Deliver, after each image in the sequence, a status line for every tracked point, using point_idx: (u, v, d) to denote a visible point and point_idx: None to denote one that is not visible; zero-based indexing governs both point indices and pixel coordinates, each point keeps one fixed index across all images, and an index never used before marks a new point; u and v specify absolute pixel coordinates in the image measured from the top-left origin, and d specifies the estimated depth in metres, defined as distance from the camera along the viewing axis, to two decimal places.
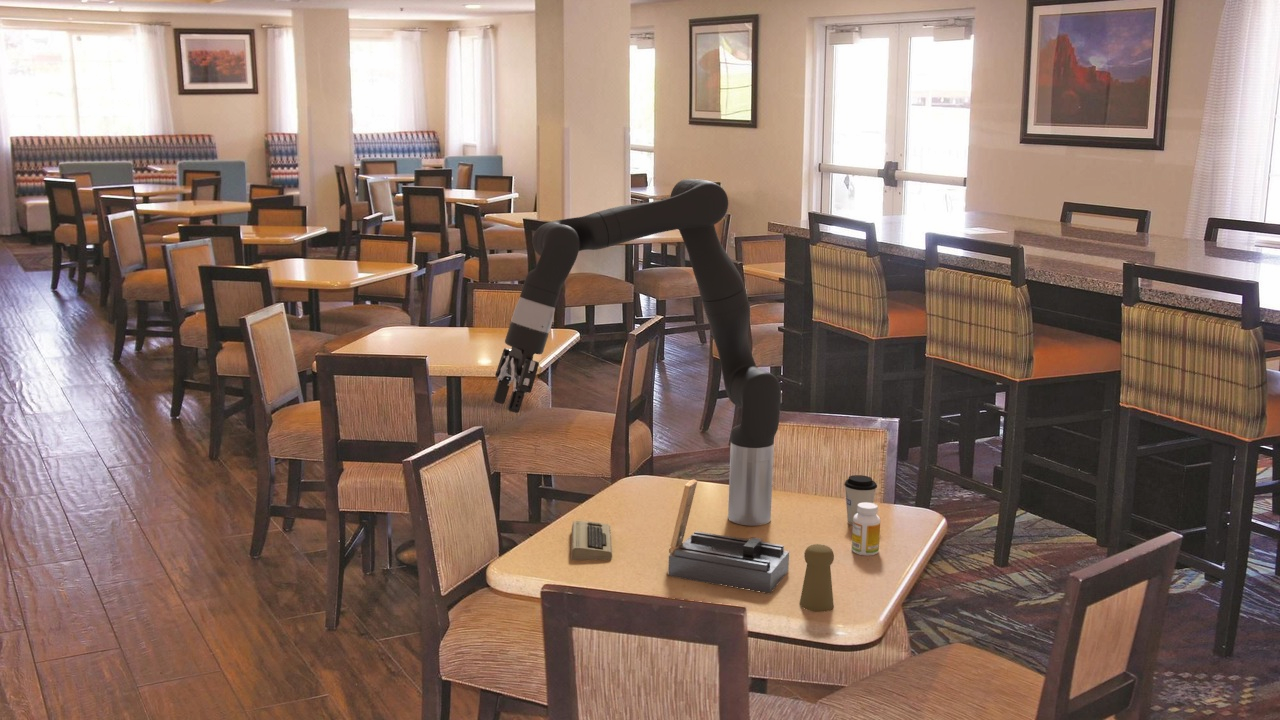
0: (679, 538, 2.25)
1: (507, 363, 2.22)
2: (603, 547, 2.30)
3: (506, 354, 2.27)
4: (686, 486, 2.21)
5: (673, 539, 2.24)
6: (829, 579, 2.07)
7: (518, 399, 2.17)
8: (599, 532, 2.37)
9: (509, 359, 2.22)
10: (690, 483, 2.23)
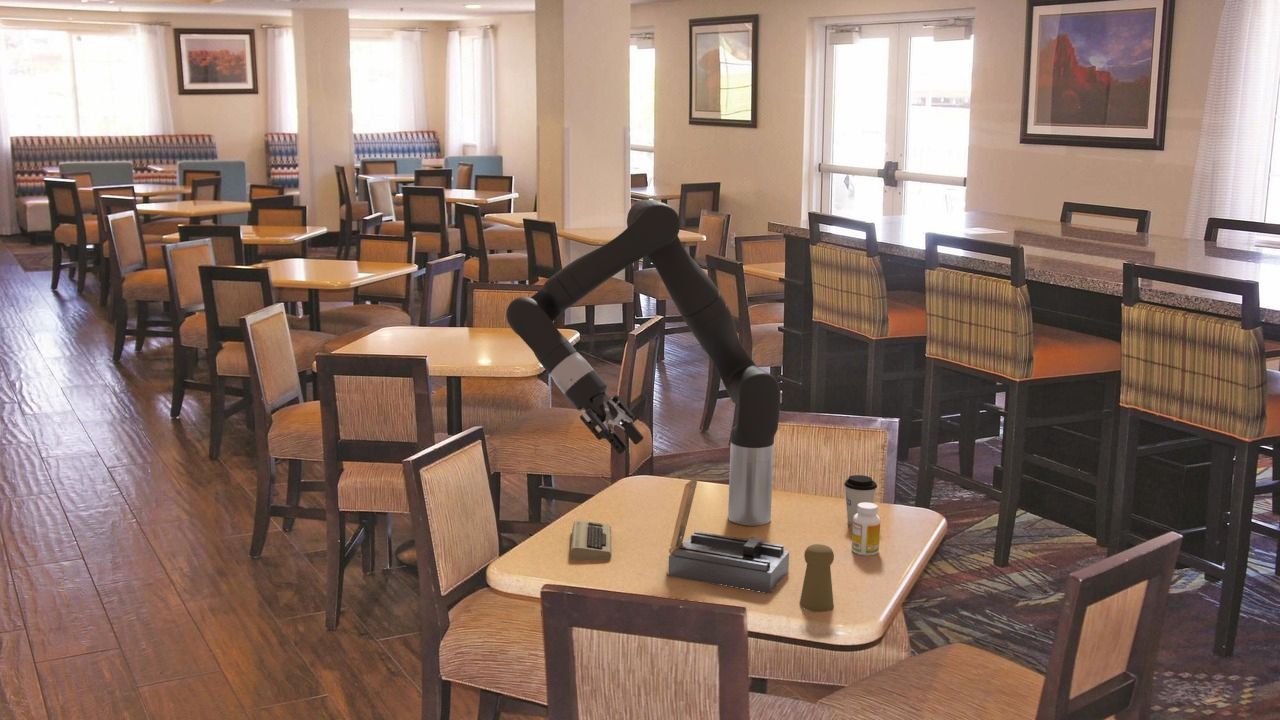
0: (679, 538, 2.25)
1: None
2: (602, 547, 2.30)
3: None
4: (686, 486, 2.21)
5: (673, 539, 2.24)
6: (829, 579, 2.07)
7: (613, 442, 2.22)
8: (599, 532, 2.37)
9: None
10: (690, 483, 2.23)
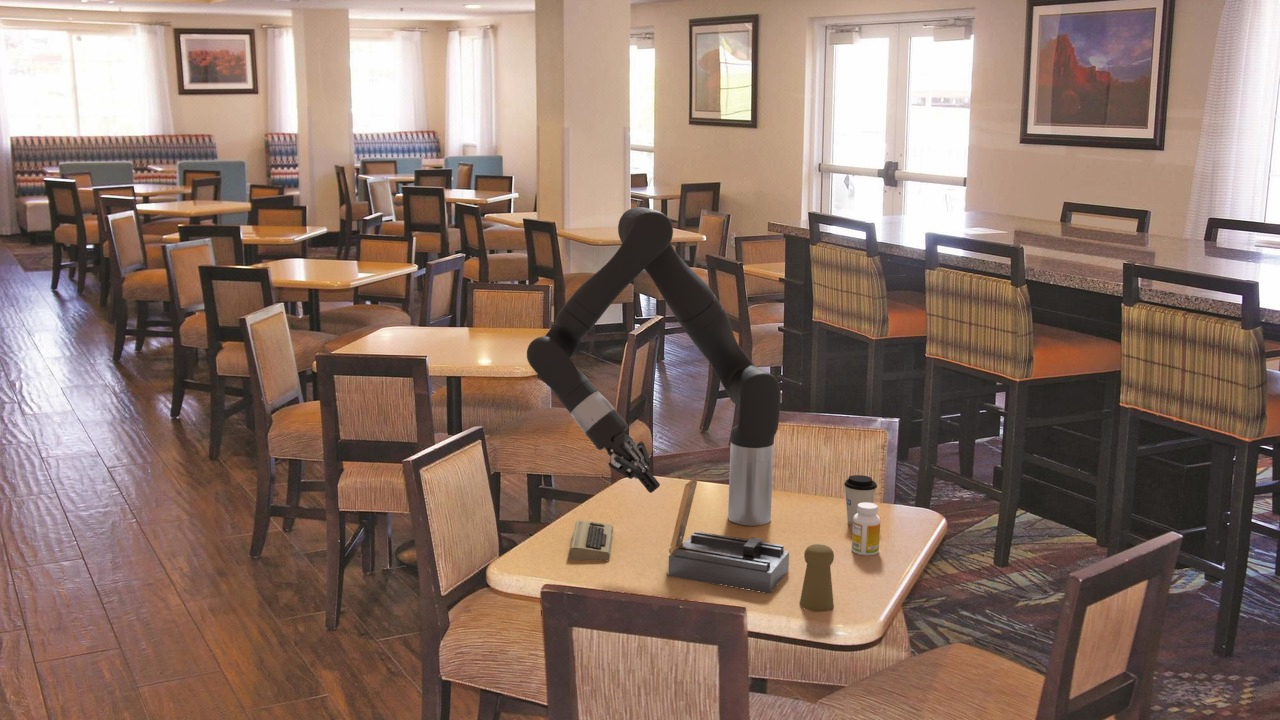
0: (679, 538, 2.25)
1: None
2: (601, 547, 2.30)
3: None
4: (686, 486, 2.21)
5: (673, 539, 2.24)
6: (829, 579, 2.07)
7: (644, 480, 2.25)
8: (600, 532, 2.37)
9: None
10: (690, 483, 2.23)
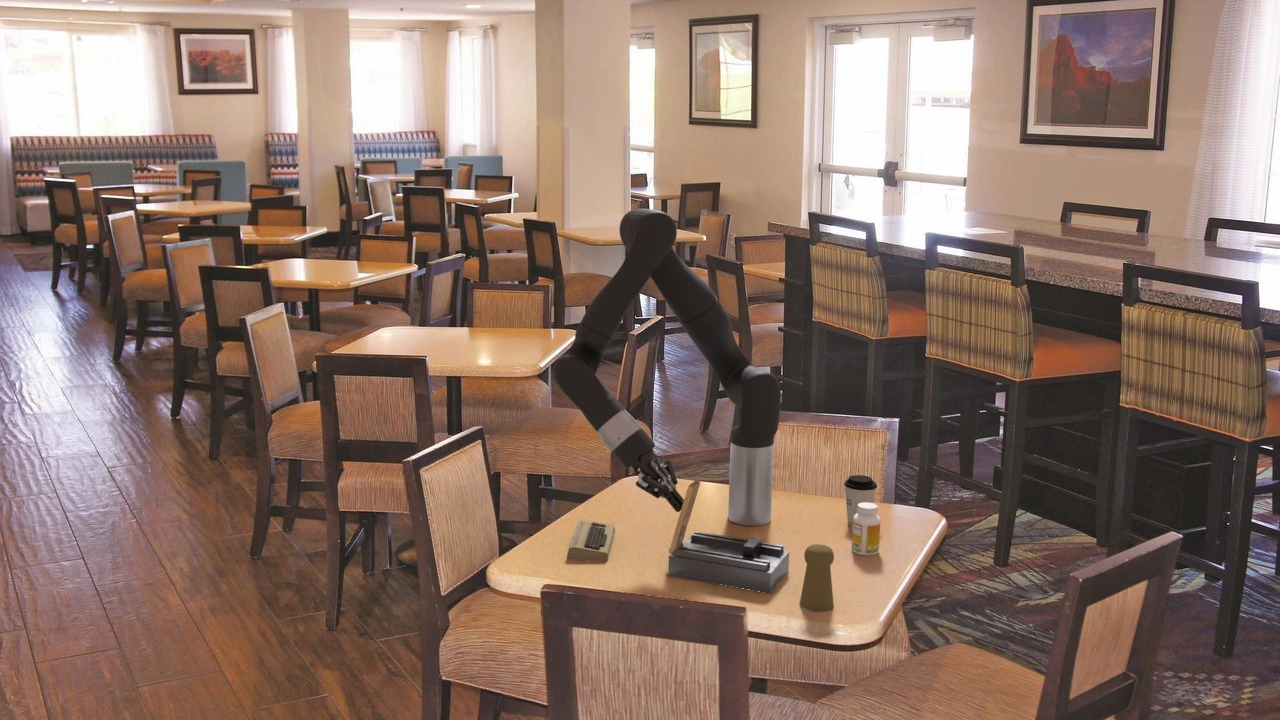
0: (679, 538, 2.25)
1: None
2: (600, 548, 2.30)
3: None
4: (689, 487, 2.21)
5: (673, 539, 2.24)
6: (829, 579, 2.07)
7: (671, 500, 2.24)
8: (600, 533, 2.37)
9: None
10: (693, 484, 2.22)
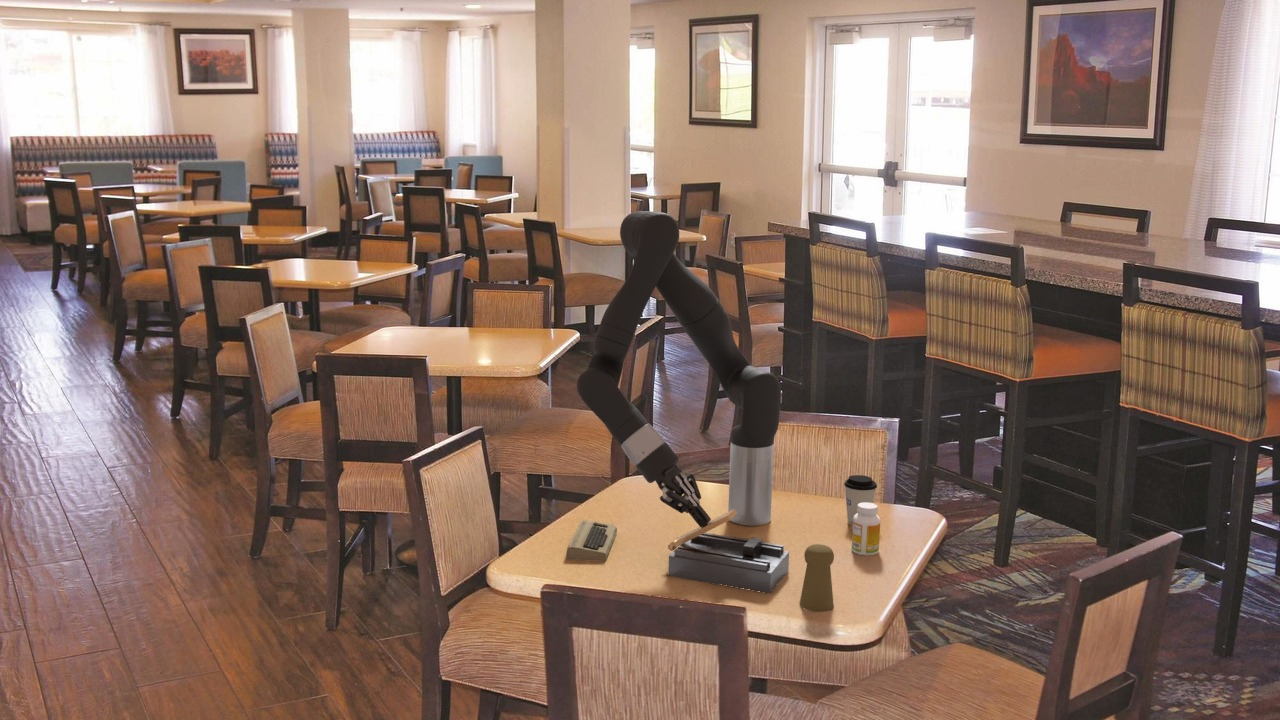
0: None
1: None
2: (599, 548, 2.30)
3: None
4: (727, 517, 2.19)
5: (680, 540, 2.24)
6: (829, 579, 2.07)
7: (695, 515, 2.22)
8: (601, 533, 2.37)
9: None
10: (731, 515, 2.20)
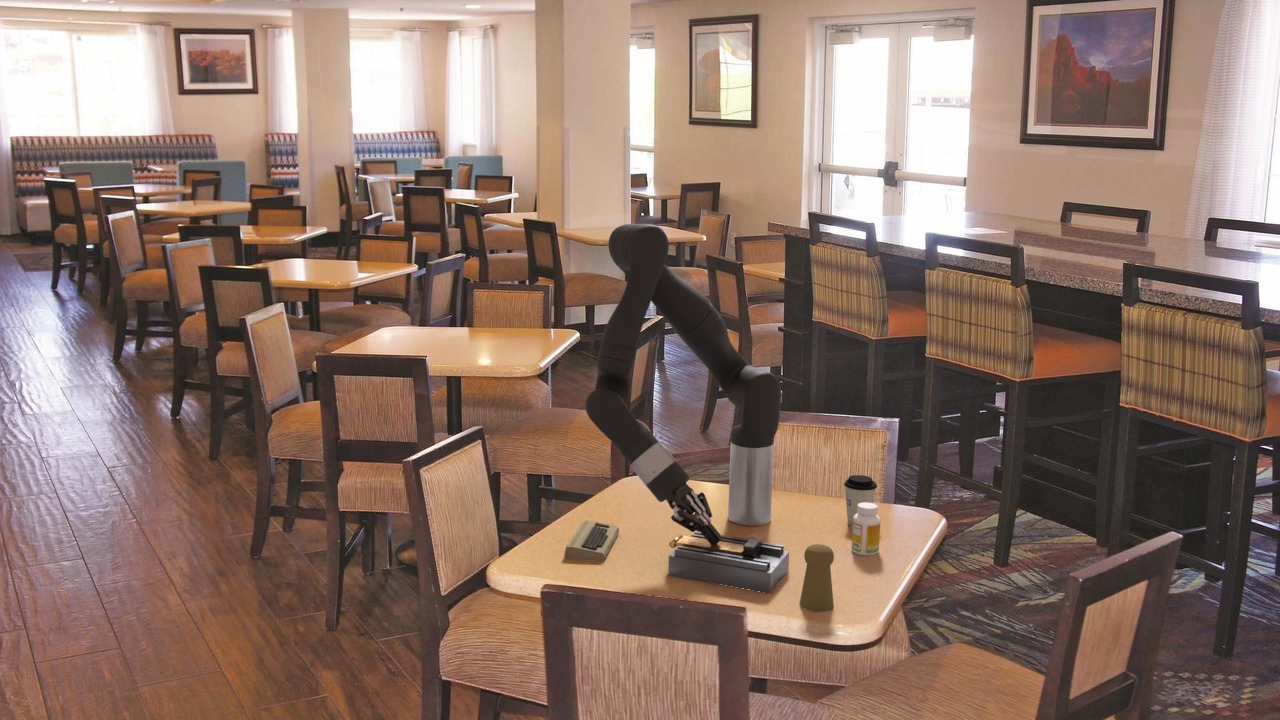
0: None
1: None
2: (597, 548, 2.30)
3: None
4: (740, 553, 2.19)
5: (684, 544, 2.24)
6: (829, 579, 2.07)
7: (706, 534, 2.22)
8: (601, 533, 2.37)
9: None
10: None
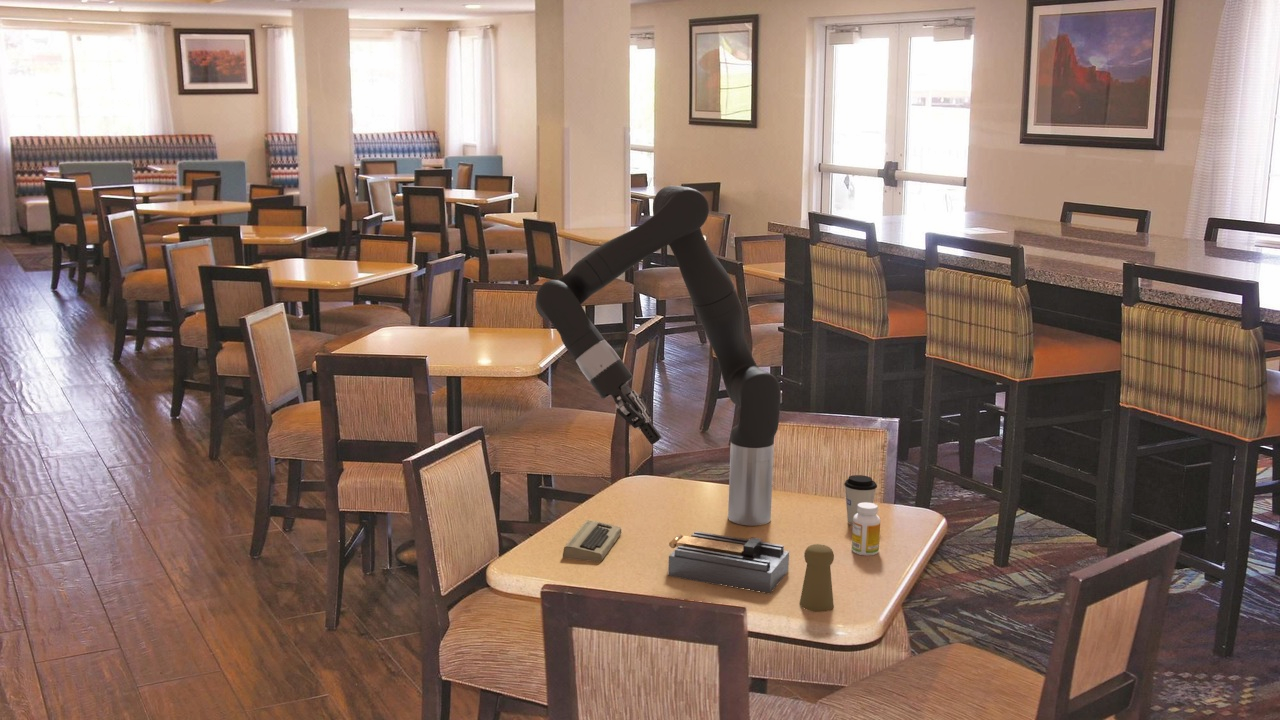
0: None
1: None
2: (596, 548, 2.30)
3: None
4: (740, 553, 2.19)
5: (684, 544, 2.24)
6: (829, 579, 2.07)
7: (647, 431, 2.25)
8: (602, 533, 2.37)
9: None
10: None
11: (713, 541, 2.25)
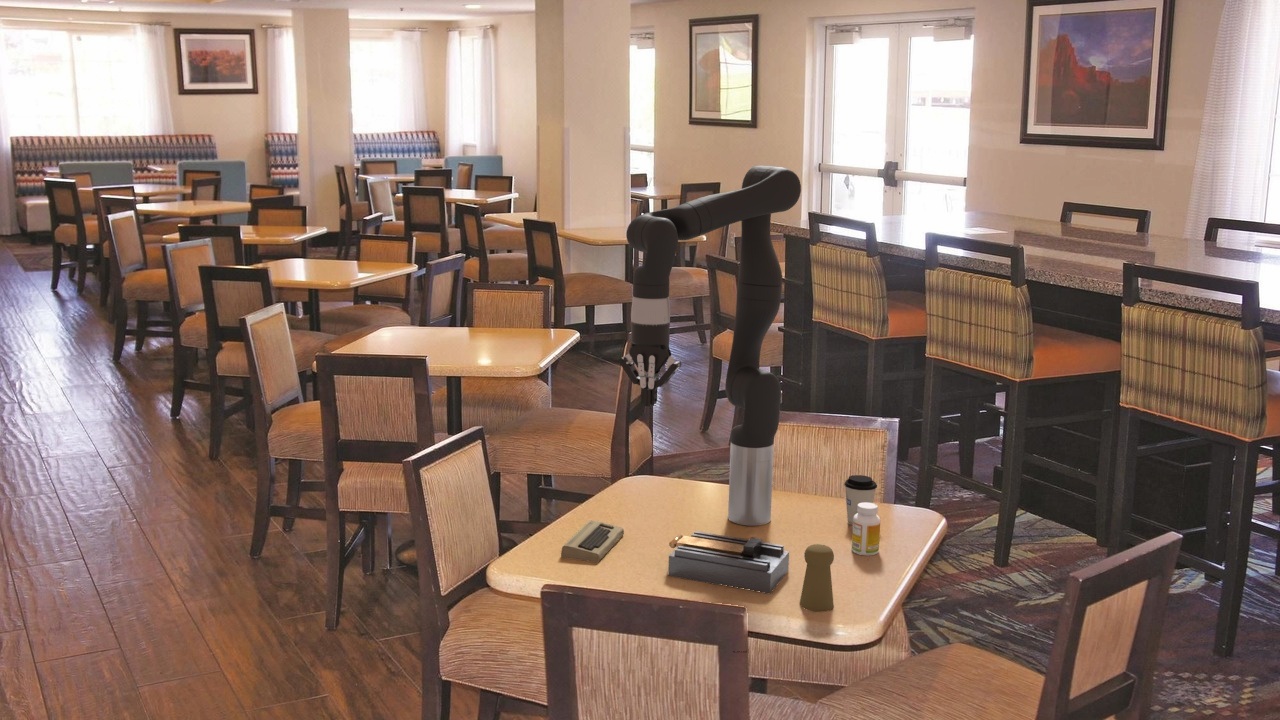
0: None
1: (643, 360, 2.28)
2: (594, 549, 2.29)
3: (625, 361, 2.31)
4: (740, 553, 2.19)
5: (684, 544, 2.24)
6: (829, 579, 2.07)
7: (655, 394, 2.30)
8: (603, 534, 2.36)
9: (642, 355, 2.28)
10: None
11: (713, 541, 2.25)
